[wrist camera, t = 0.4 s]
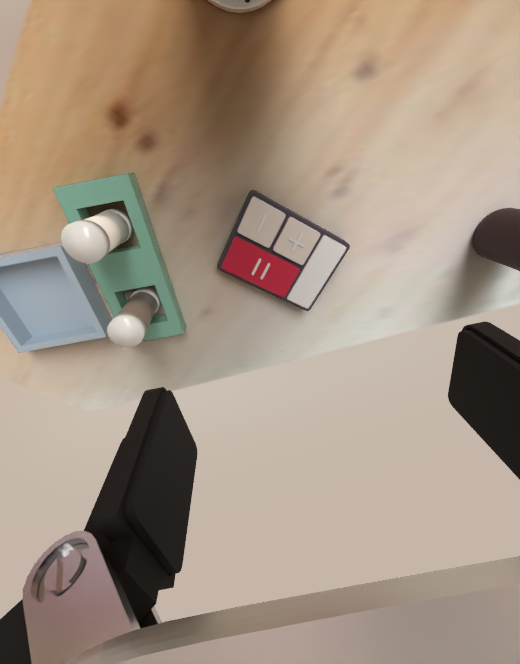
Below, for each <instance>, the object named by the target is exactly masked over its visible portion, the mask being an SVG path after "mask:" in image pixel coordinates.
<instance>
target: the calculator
mask: <svg viewBox="0 0 520 664" xmlns="http://www.w3.org/2000/svg"><path fill="white" fill-rule="evenodd" d="M349 247H350V245H349V244H348V243H347V242H345V241H344V240H343V239H341V238H339V237H338V236H336V235H334V234H332V233H330V232H329V231H327V230H325V229H323V228H321V227H319V226H317V225H316V224H314V223H312V222H310V221H309V220H307V219H305V218H303V217H301V216H300V215H298V214H296V213H294V212H292V211H291V210H289V209H287V208H285V207H283V206H282V205H280V204H278V203H276V202H274V201H273V200H271V199H269V198H267V197H266V196H264V195H262V194H260V193H258V192H257V191H255V190H251V191H250V192H249V194H248V196H247V198H246V201H245V203H244V205H243V208H242V210H241V212H240V214H239V217H238V219H237V221H236V223H235V226H234V228H233V230H232V232H231V235H230V237H229V239H228V241H227V244H226V246H225V248H224V251H223V253H222V255H221V257H220V260H219V262H218V265H217V268H218V269H219V270H221V271H223V272H225V273H227V274H229V275H231V276H233V277H236V278H238V279H240V280H242V281H244V282H246V283H248V284H250V285H253V286H255V287H257V288H259V289H261V290H263V291H265V292H267V293H270V294H272V295H274V296H276V297H278V298H280V299H282V300H284V301H287V302H289V303H291V304H293V305H295V306H297V307H299V308H302V309H304V310H306V311H309V310H310V309H311V307H312V306H313V304H314V303H315V301H316V299H317V298H318V296H319V295H320V293H321V292H322V290H323V289H324V287H325V285H326V284H327V282H328V281H329V279H330V278H331V276H332V274H333V273H334V271H335V270H336V268H337V267H338V265H339V264H340V262H341V260H342V259H343V257H344V256H345V254H346V253H347V251H348V249H349Z"/></svg>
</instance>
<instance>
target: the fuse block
mask: <svg viewBox="0 0 520 664" xmlns="http://www.w3.org/2000/svg"><path fill="white" fill-rule="evenodd" d="M53 190H54V193H55V195H56V197H57V199H58V201H59V203H60V205H61V207H62V209H63V211H64V214H65V216H66V218H67V220H68V222H69V224H70V223H73V222H76V221H78V220H84V219H87V218H89V217H90V215H89V213H88V211H87V209H86V207H90V206H95V205H101V204H106V203H111V202H116V201H122V200H123V201H124V204H125V206H126V209H127V212H128V214H129V217H130V220H131V223H132V225H133V228H134V231H135V233H136V236H137V239H138V241H139V244H140V245H135V246H130V247H124V248H119V249H114V250H111V251H110V252H108V253H107V255H106V256H104V257H103V258H102V259H100V260H99V261H97V262H95V263H88V264H89V266H90V268H91V270H92V272H93V274H94V277H95V279H96V281H97V283H98V285H99V287H100V289H101V291H102V293H103V295H104V298H105V300H106V302H107V304H108V306H109V308H110V310H111V312H112V314H113V316H114V317H115V316H116V315H117V314H118V313H119V312H120V310H121V309H122V308H123V307H124V305H125V304H126V303H127V300H126V298H125V296H124V293H123V291H125V290H130V289H136V288H141V287H147V286H152V285H155V287H156V290H157V293H158V295H159V298H160V301H161V303H162V306H163V309H164V311H165V314H166V315H161V316H155V317H153V319H152V320H151V322H150V324H149V326H148V328H147V330H146V333H145V335H144V337H143V339H142V341H146V340H152V339H158V338H163V337H169V336H174V335H180V334H184V331H185V328H186V324H185V322H184V319H183V316H182V313H181V310H180V307H179V304H178V301H177V298H176V295H175V292H174V289H173V286H172V283H171V280H170V277H169V274H168V271H167V268H166V265H165V262H164V259H163V257H162V254H161V251H160V248H159V245H158V242H157V239H156V236H155V233H154V230H153V227H152V224H151V221H150V218H149V215H148V212H147V209H146V206H145V203H144V200H143V197H142V194H141V192H140V189H139V186H138V183H137V180H136V177H135V174H134V173H128V174H123V175H117V176H112V177H107V178H102V179H97V180H91V181H86V182H81V183H76V184H70V185H65V186H60V187H55V188H53Z"/></svg>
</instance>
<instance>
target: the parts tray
mask: <svg viewBox="0 0 520 664" xmlns="http://www.w3.org/2000/svg"><path fill="white" fill-rule="evenodd" d="M111 321H112V319H111V316H110V314H109V312H108V310H107V308H106V306H105V304H104V302H103V300H102V298H101V296H100V294H99V292H98V290H97V287H96V285H95V283H94V281H93V279H92V277H91V275H90V273H89V271H88V269H87V267H86V265H85V263H82V262H79V261H77V260H75V259H74V258H72V257H71V256H70V255H69V254H68V253H67V252H66V250H65V249H64V247H63V245H62V243H57V244H51V245H46V246H41V247H36V248H30V249H25V250H20V251H14V252H9V253H4V254H0V328H1V329H2V330H3V332H4V333H5V335H6V336H7V337H8V339H9V340H10V342H11V343H12V344H13V346H14V347H15V349H16V350H17V351H18V353H21V352H26V351H32V350H38V349H43V348H49V347H54V346H60V345H65V344H71V343H76V342H82V341H87V340H93V339H98V338H104V337H107V336H108V334H107V327H108V325H109V323H110V322H111Z"/></svg>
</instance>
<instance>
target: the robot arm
mask: <svg viewBox="0 0 520 664" xmlns="http://www.w3.org/2000/svg"><path fill="white" fill-rule="evenodd" d="M207 1H209V2H210V3H212V4H213V5H215V6H216V7H218V8H221V9H223V10H226V11H228V12H236V13H244V12H252V11H254V10H256V9H259V8H261V7H263V6H265V5H266V4H267V3H269V2H270V1H271V0H250V2H249V3H246V2H245V0H207ZM448 397H449V401H450V403H451V405H452V406H453V407H454V408H455V410H456V411H457V412H458V413H459V414H460V415H461V416H462V417H463V418H464V419H465V420H466V421H467V423H468V424H469V425H470V426H471V427H472V428H473V429H474V430H475V431H476V432H477V434H479V436H480V437H481V438H482V439H483V440H484V441H485V442H486V443H487V444H488V446H489V447H491V449H492V450H493V451H494V452H495V453H496V454H497V455H498V456H499V457H500V459H501V460H502V461H503V462H504V463H505V464H506V465H507V466H508V467H509V468H510V469H511V470H512V472H513V473H514V474H515V475H516V476H517V477H518V478H519V479H520V341H519V340H518V339H516V338H514V337H513V336H511V335H509V334H508V333H506V332H504V331H503V330H501V329H499V328H498V327H496V326H494V325H493V324H491V323H489V322H481V323H476V324H471V325H467V326H465V327H464V328H463V329H462V331H461V332H459V334H458V338H457V344H456V350H455V356H454V362H453V368H452V374H451V380H450V386H449V392H448ZM196 460H197V448H196V444H195V442H194V439H193V437H192V435H191V433H190V431H189V429H188V426H187V424H186V422H185V420H184V417H183V415H182V413H181V411H180V409H179V406H178V404H177V402H176V400H175V397H174V395H173V393H172V392H171V391H170V390H169V391H166V389H165V388H164V387H161V388H156V389H151V390H147V391H145V392H144V394H143V396H142V398H141V401H140V403H139V406H138V408H137V411H136V413H135V415H134V418H133V420H132V423H131V425H130V427H129V431H128V432H127V435H126V437H125V438H124V439H123V440H122V442H121V444H120V447H119V449H118V451H117V453H116V456H115V458H114V460H113V463H112V465H111V468H110V470H109V472H108V475H107V477H106V479H105V482H104V484H103V487H102V489H101V491H100V494H99V496H98V498H97V501H96V503H95V506H94V508H93V510H92V513H91V515H90V517H89V520H88V522H87V525H86V527H85V529H84V531H77V532H73V533H71V534H68V535H66V536H64V537H62V538H61V539H59V540H58V541H56V542H55V543H54V544H53V545H51V546H50V547H49V548H48V549H47V550H46V551H45V552H44V553H43V554H42V556H41V557H40V558H39V559H38V561H37V562H36V563H35V564H34V566H33V568H32V570H31V571H30V573H29V575H28V577H27V579H26V582H25V585H24V588H23V599H22V600H21V601H20V602H19V603H18V604H17V605H16V606H14V607H13V608H12V609H11V610H10V611H9V612H8V613H7V614H6V615H5V616H4V617H3V618H1V619H0V664H520V557H513V558H507V559H502V560H496V561H490V562H485V563H479V564H473V565H467V566H462V567H456V568H451V569H445V570H439V571H433V572H428V573H423V574H417V575H411V576H405V577H400V578H395V579H389V580H383V581H377V582H372V583H366V584H361V585H355V586H349V587H344V588H338V589H333V590H328V591H323V592H317V593H311V594H306V595H301V596H295V597H289V598H284V599H278V600H274V601H268V602H262V603H257V604H251V605H246V606H241V607H235V608H231V609H225V610H221V611H216V612H211V613H206V614H201V615H197V616H192V617H187V618H182V619H177V620H172V621H167V622H164V623H162V622H161V620H160V618H159V616H158V614H157V611H156V610H155V607H154V605H155V604H156V600H157V595H158V590H162V589H167V588H173V587H174V580H175V573H179V572H180V571H181V568H182V563H183V555H184V548H185V541H186V534H187V526H188V519H189V511H190V504H191V496H192V489H193V482H194V475H195V474H194V473H195V467H196Z"/></svg>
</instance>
